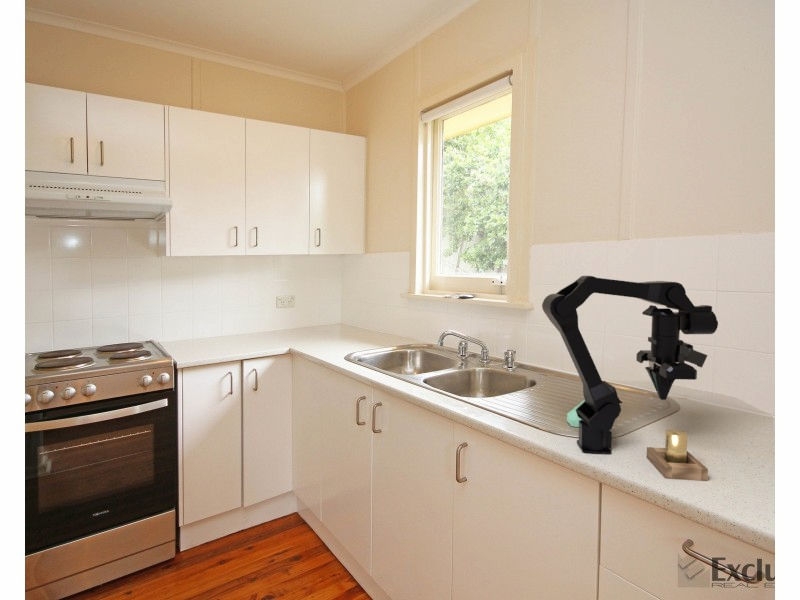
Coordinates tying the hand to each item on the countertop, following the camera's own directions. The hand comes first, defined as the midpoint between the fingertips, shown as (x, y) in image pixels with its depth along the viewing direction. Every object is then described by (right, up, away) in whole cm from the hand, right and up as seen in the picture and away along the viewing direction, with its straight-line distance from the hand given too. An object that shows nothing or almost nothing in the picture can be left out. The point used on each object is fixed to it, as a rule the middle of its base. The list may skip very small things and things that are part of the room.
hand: (662, 399), depth 107 cm
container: (-8, -11, +25) cm, 28 cm away
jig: (-3, -13, -10) cm, 16 cm away
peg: (-3, -13, -10) cm, 16 cm away
